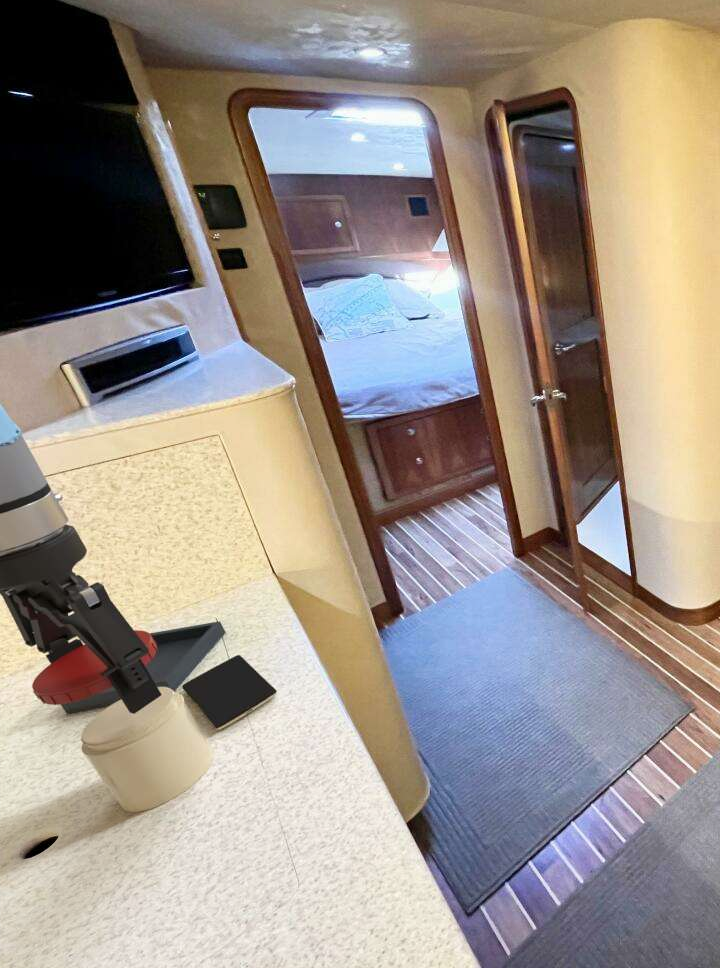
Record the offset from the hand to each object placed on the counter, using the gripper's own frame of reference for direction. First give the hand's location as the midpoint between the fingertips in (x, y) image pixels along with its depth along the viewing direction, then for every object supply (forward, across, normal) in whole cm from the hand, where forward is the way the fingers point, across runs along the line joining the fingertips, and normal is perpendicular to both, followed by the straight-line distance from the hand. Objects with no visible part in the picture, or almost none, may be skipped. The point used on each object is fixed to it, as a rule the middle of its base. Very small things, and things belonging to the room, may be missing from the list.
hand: (117, 695), depth 65 cm
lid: (-5, 0, 0) cm, 5 cm away
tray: (+14, +25, -13) cm, 31 cm away
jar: (+14, 0, 0) cm, 14 cm away
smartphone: (+14, +6, -12) cm, 20 cm away
